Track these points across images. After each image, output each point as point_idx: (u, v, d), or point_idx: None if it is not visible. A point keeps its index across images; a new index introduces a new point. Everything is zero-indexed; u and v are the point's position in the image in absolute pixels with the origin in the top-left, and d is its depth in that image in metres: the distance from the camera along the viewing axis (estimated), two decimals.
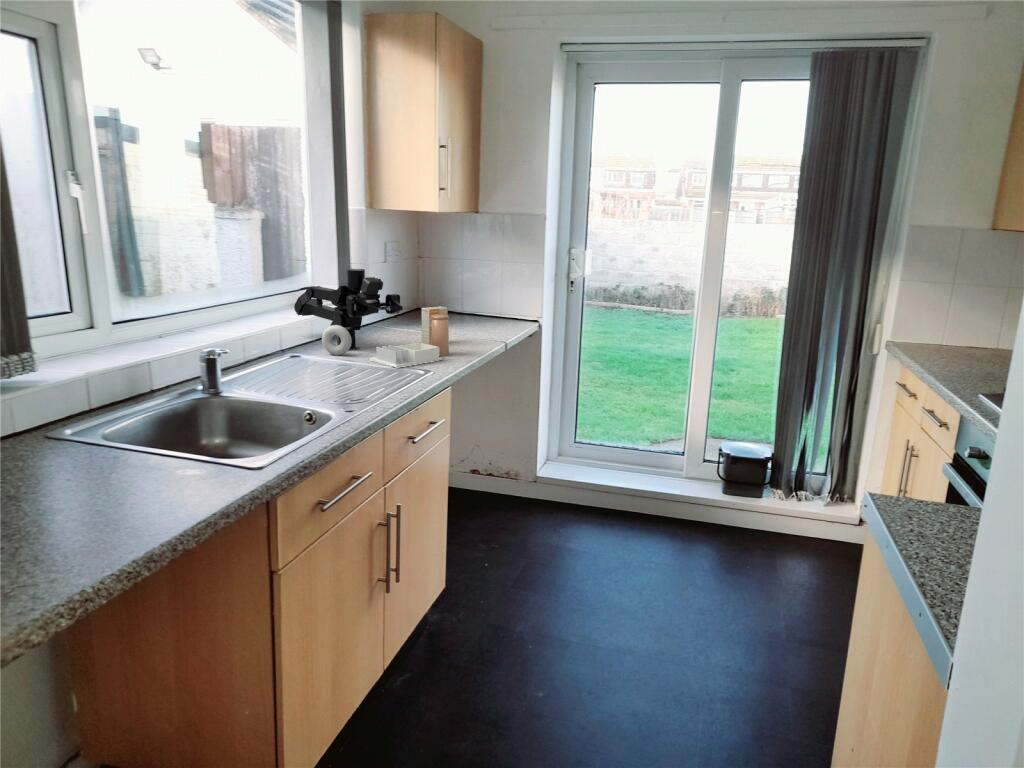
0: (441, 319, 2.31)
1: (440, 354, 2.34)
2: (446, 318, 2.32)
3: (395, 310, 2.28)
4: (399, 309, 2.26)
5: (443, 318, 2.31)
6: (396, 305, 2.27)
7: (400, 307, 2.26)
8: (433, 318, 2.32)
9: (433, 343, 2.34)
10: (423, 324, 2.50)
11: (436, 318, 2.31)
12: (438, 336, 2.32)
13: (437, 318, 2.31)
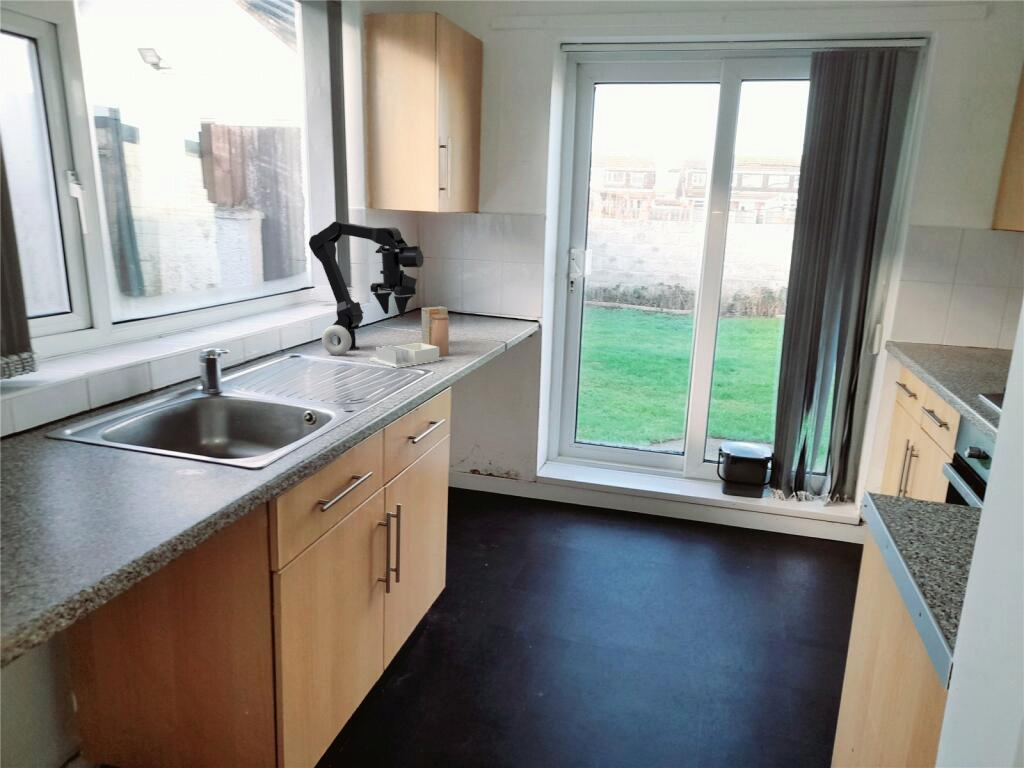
0: (441, 319, 2.31)
1: (440, 354, 2.34)
2: (446, 318, 2.32)
3: (382, 303, 2.36)
4: (385, 310, 2.37)
5: (443, 318, 2.31)
6: (387, 304, 2.38)
7: (387, 311, 2.38)
8: (433, 318, 2.32)
9: (433, 343, 2.34)
10: (423, 324, 2.50)
11: (436, 318, 2.31)
12: (438, 336, 2.32)
13: (437, 318, 2.31)
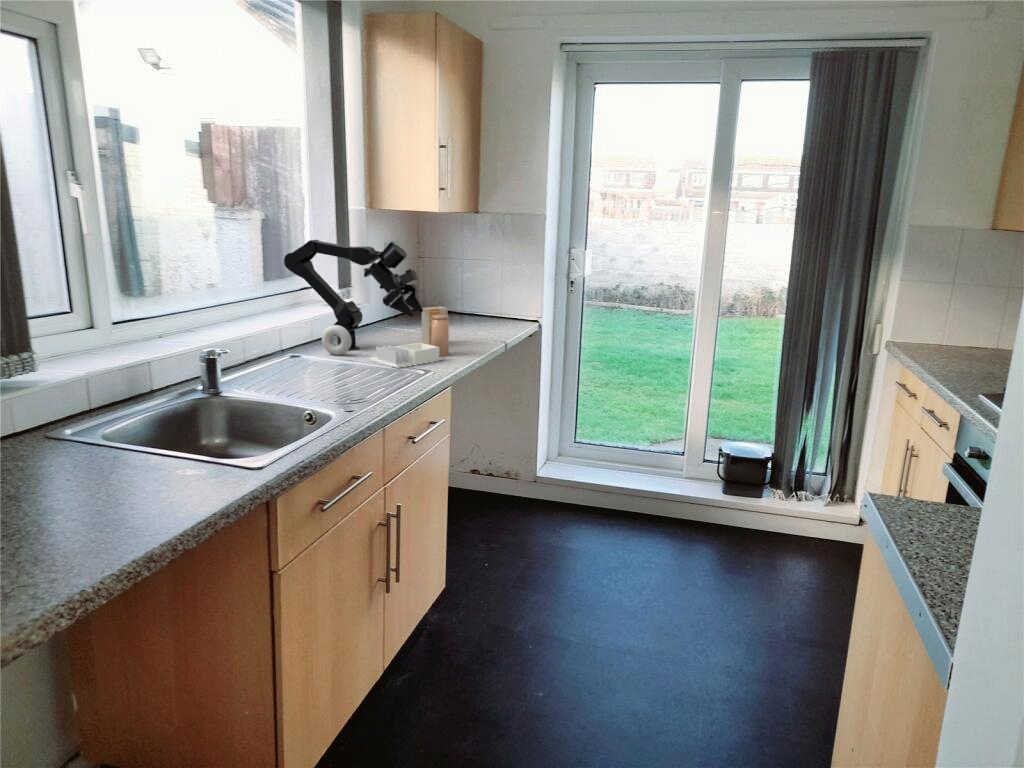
0: (441, 319, 2.31)
1: (440, 354, 2.34)
2: (446, 318, 2.32)
3: (412, 305, 2.39)
4: (418, 310, 2.39)
5: (443, 318, 2.31)
6: (417, 303, 2.39)
7: (421, 309, 2.39)
8: (433, 318, 2.32)
9: (433, 343, 2.34)
10: (423, 324, 2.50)
11: (436, 318, 2.31)
12: (438, 336, 2.32)
13: (437, 318, 2.31)
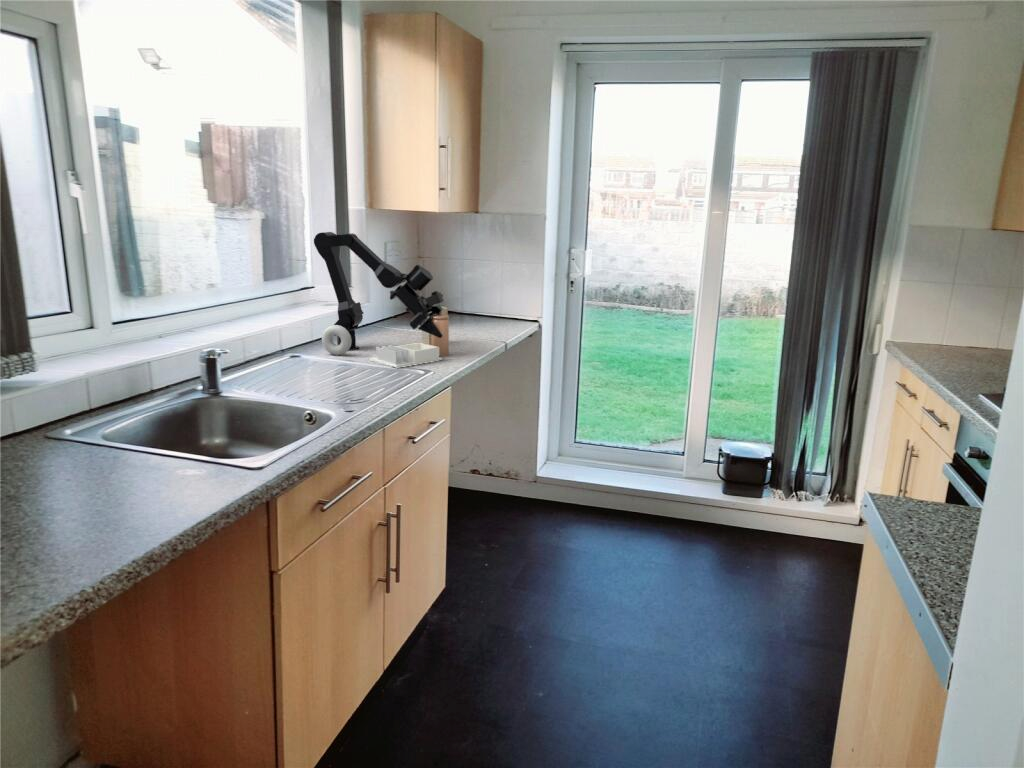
0: (441, 319, 2.31)
1: (440, 354, 2.34)
2: (446, 318, 2.32)
3: None
4: None
5: (443, 318, 2.31)
6: None
7: None
8: (433, 318, 2.32)
9: (433, 343, 2.34)
10: None
11: (436, 318, 2.31)
12: None
13: (437, 318, 2.31)
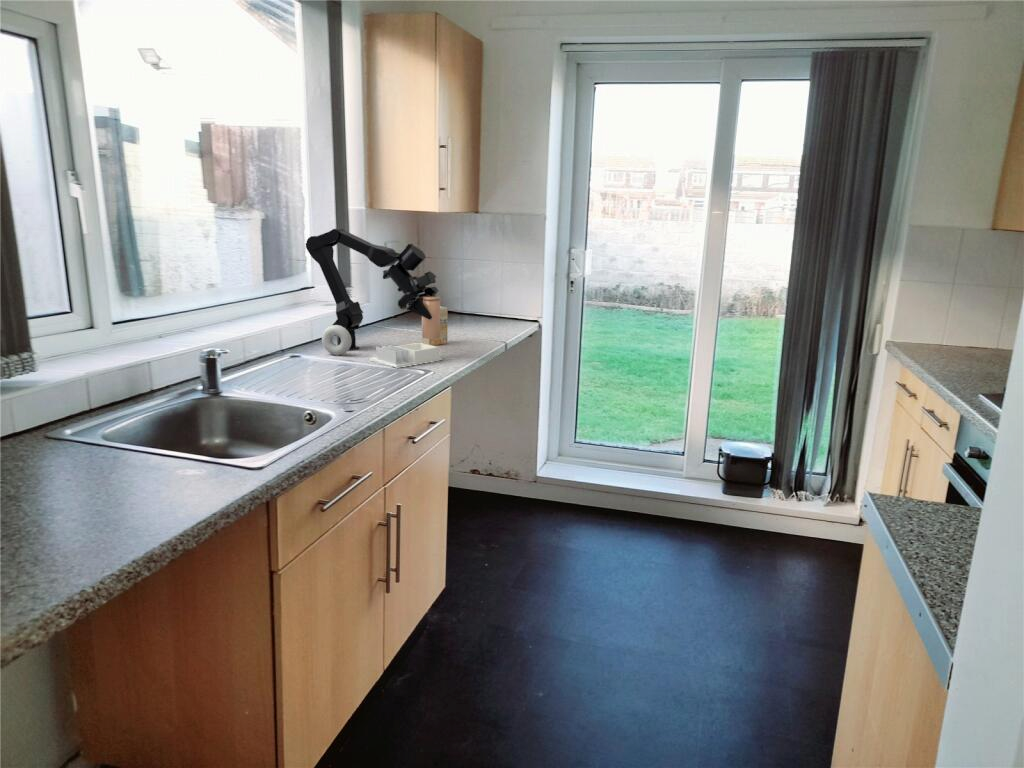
0: (431, 300, 2.25)
1: (430, 336, 2.28)
2: (437, 299, 2.26)
3: None
4: None
5: (433, 299, 2.25)
6: None
7: None
8: (424, 299, 2.26)
9: (423, 325, 2.29)
10: None
11: (426, 299, 2.26)
12: None
13: (427, 299, 2.25)
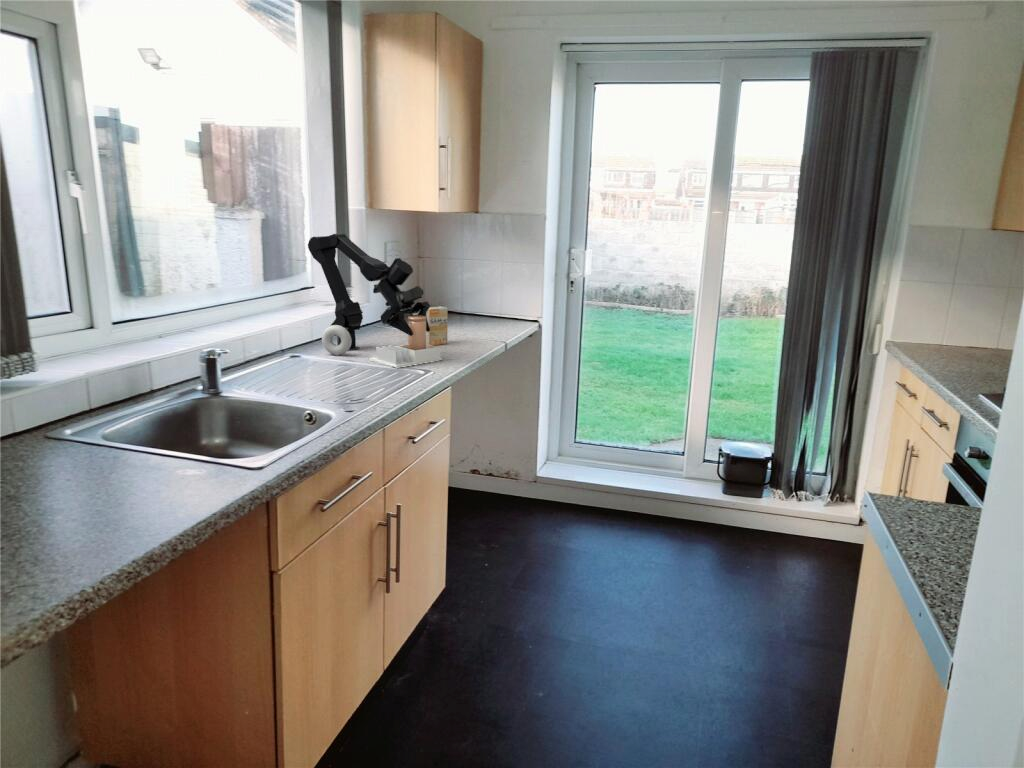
0: (415, 320, 2.21)
1: None
2: (421, 320, 2.22)
3: None
4: None
5: (417, 320, 2.21)
6: None
7: (427, 329, 2.28)
8: (408, 319, 2.23)
9: (408, 344, 2.25)
10: None
11: (410, 319, 2.22)
12: (412, 338, 2.23)
13: (411, 319, 2.22)
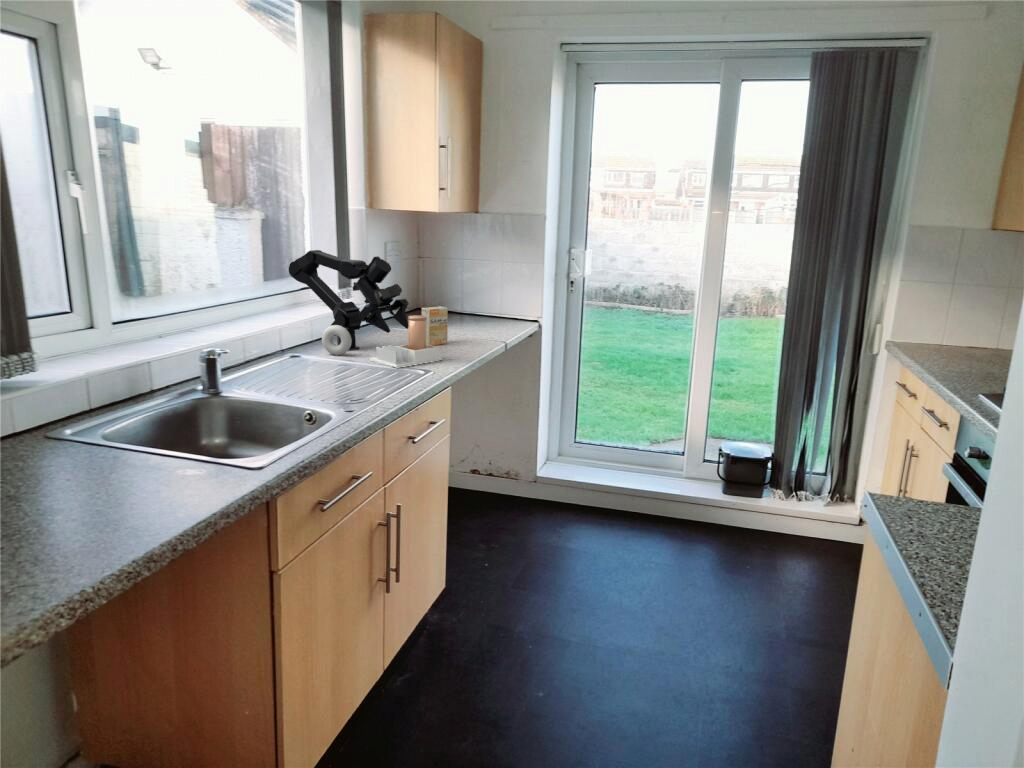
0: (415, 320, 2.22)
1: None
2: (421, 319, 2.23)
3: (400, 321, 2.35)
4: (404, 326, 2.34)
5: (417, 319, 2.22)
6: (403, 319, 2.34)
7: (406, 326, 2.33)
8: (408, 318, 2.23)
9: (408, 344, 2.26)
10: None
11: (411, 318, 2.23)
12: (412, 337, 2.24)
13: (411, 318, 2.22)
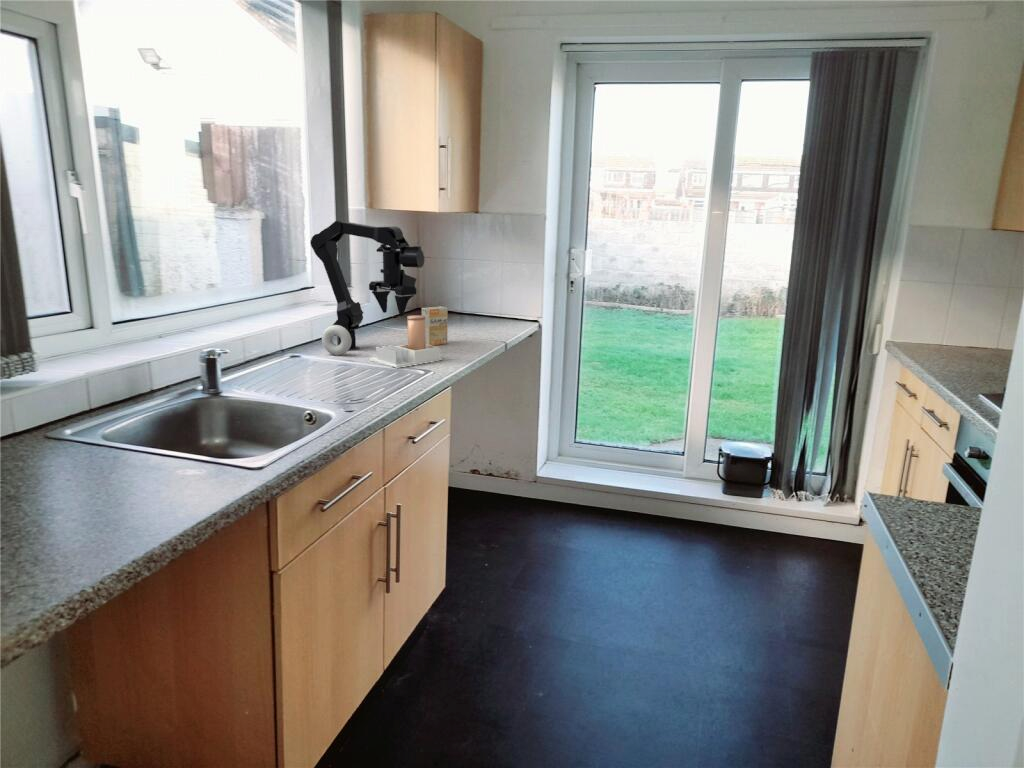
0: (415, 319, 2.22)
1: None
2: (420, 318, 2.23)
3: (381, 302, 2.36)
4: (383, 309, 2.37)
5: (417, 318, 2.22)
6: (385, 303, 2.37)
7: (385, 310, 2.38)
8: (408, 318, 2.24)
9: (408, 344, 2.25)
10: None
11: (410, 318, 2.23)
12: (412, 337, 2.24)
13: (411, 318, 2.22)
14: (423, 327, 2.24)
